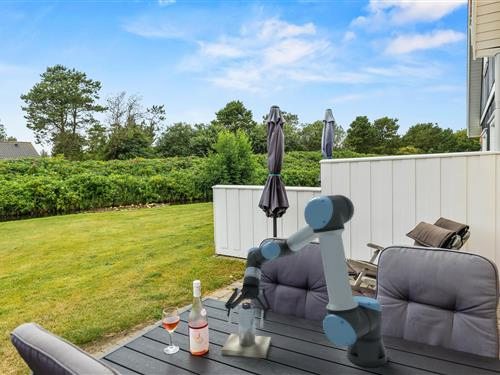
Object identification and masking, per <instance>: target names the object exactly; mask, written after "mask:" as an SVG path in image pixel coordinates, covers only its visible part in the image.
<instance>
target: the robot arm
mask: <svg viewBox="0 0 500 375" xmlns="http://www.w3.org/2000/svg"><path fill="white" fill-rule="evenodd" d="M354 213H355V206H354V204H353V202H352V200H351V199H350V198H349V197H347V196H345V195H342V194H333V195H320V196H315V197H313V198H311V199H310V200H309V201H308V202H307V204H306V205H305V207H304V212H303V216H304V220H305V222H306V224H305V225H304V226H302V227H301V228H300V229H298V230H296V231H295V232H294V233H292V234H291V235H289V236H288V237H287V238H285V239H284V240H282V241H278V242H275V241H272V240H271V241H268V242H266V243H264V244H263V245H262V246H261V247H257V246H255V247H251V248H249V249H248V253H247V257H246V263H245V270H244V276H243V282H242V287H241V288H238V287H235V289H234V291H233V293H232V294H231V296H230V297H229V299H228V300H227V302H225V304H224V307H225V310H227V315H226V316H227V317H228V322H227V324H228V326H229V327H232V322H233V318H234V313H235V312H234V309H235V308H236V307H237V306H239V304H240V303H241V302H243V301H244V300H247V301H249V300H250V301H254V300H255V301H256V302H257V303H258V305H259V306H260V308H261V309H262V310H261V313H260V314H261V315H260V322H259V327H260V329H263V328H264V321H266V320H267V317H268V316H267V315H268V313H269V312H272V307H271V305H270V304H271V303H270V301H269V300H268V297H267V291H266V289H265V288H262V289H260V287H261V286H260V285H261V276H262V269H263V266H264V265H266V264H268V263H269V262H271V261H275V260H280V259H283V258H287V257H292V256H294V255H297V253H298V252H299V251H300V250H301V249H303V248H304V247H306V246H307V245H308V244H310V243H311V242H314V241H315V240H316V239H318V243H319V249H320V255H321V259H322V260H321V261H322V265H323V272H324V278H325V283H326V284H325V285H326V290H327V295H328V300H329V302H328V304H327V305H326V307H325V308H326V313H327V315H326V316H325V317H324V319H323V321H322V327H323V332H324V334H325V336H326V337H327V338H328V339H329V341H330V342H332V344H334V345H335V346H338V347H340V348H346V357H347V359H348V360H349V361H351V362H352V363H353V364H356V365H358V366H361V367H368V368H377V367H383V366H384V365H386V364H387V362H388V353H387V350H386V347H385V344H384V342H383V333H382V332H383V328H382V327H383V322H382V319H383V318H382V316H383V315H382V314H383V313H382V312H383V310H382V303H381V302H380V301H379V300H378V299H375V298H372V297H367V296H360V295H357V296H353V293H352V285H351V281H350V275H349V268H348V263H347V258H346V252H345V248H344V242H343V232H344V231H345V224H346V223H348V222H350V220H352V218H353V217H354ZM240 293H241V294H240ZM260 294H261V296H263V300H264V302H265V305H266V306H265V305H264V303H263V302H262V300H261V299H260V298H259V295H260ZM238 295H239V296H238Z"/></svg>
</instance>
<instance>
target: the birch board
mask: <svg viewBox="0 0 500 375" xmlns="http://www.w3.org/2000/svg"><path fill="white" fill-rule="evenodd" d="M255 341H256V343H255V345H253V346H251V347H243V346H241V345H239V333H238V334H236V333H231V334H230V335H229V336H228V338H227V340H226V342H225V343H224V345H223V346H222V348H221V355H225V356H228V355H229V356H237V357H246V358H247V357H248V358H249V357H250V358H258V359H266V357H267V354H268V352H269V349H270V345H271V343H272V337H271V336H265V335H264V336H261V335H255Z"/></svg>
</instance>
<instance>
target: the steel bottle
mask: <svg viewBox="0 0 500 375" xmlns="http://www.w3.org/2000/svg"><path fill="white" fill-rule="evenodd" d="M255 309H256V307H255V306H254V305H252V304H251V302H247V301H246V302H243V303H242V304H241V305H240V306H239V305H238V307H237V316H238V318H237V319H238V320H237V321H238V335H239V345H241V346H243V347H251V346H253V345H255V343H256V341H255V336H256V318H255V317H256V310H255Z"/></svg>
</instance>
